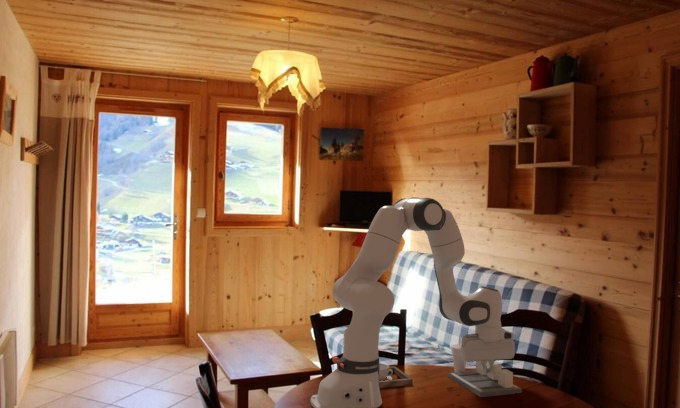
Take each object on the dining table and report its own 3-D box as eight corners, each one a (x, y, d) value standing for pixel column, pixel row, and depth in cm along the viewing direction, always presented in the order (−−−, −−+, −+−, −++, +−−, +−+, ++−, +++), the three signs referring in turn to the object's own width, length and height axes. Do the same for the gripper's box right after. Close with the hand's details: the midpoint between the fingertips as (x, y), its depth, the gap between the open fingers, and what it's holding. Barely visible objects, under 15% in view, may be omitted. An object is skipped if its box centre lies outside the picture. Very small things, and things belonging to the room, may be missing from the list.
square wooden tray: (372, 388, 186) (372, 382, 186) (357, 374, 200) (357, 369, 200) (412, 384, 190) (412, 379, 190) (394, 371, 204) (395, 366, 204)
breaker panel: (480, 397, 180) (480, 377, 180) (448, 377, 200) (448, 359, 200) (521, 392, 185) (522, 373, 185) (486, 373, 205) (486, 356, 205)
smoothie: (448, 373, 204) (449, 335, 204) (453, 368, 210) (454, 332, 210) (465, 376, 201) (466, 338, 201) (470, 371, 207) (471, 334, 207)
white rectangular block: (494, 380, 191) (494, 365, 191) (487, 376, 195) (487, 362, 195) (501, 379, 192) (501, 365, 192) (494, 375, 196) (495, 362, 196)
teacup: (361, 382, 193) (362, 368, 192) (367, 373, 202) (367, 361, 202) (390, 385, 190) (390, 371, 190) (394, 376, 200) (394, 363, 200)
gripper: (466, 336, 186) (465, 377, 186) (517, 333, 193) (516, 373, 193) (457, 332, 192) (456, 371, 192) (507, 329, 199) (505, 367, 199)
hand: (486, 372), depth 193 cm, fingers closed
